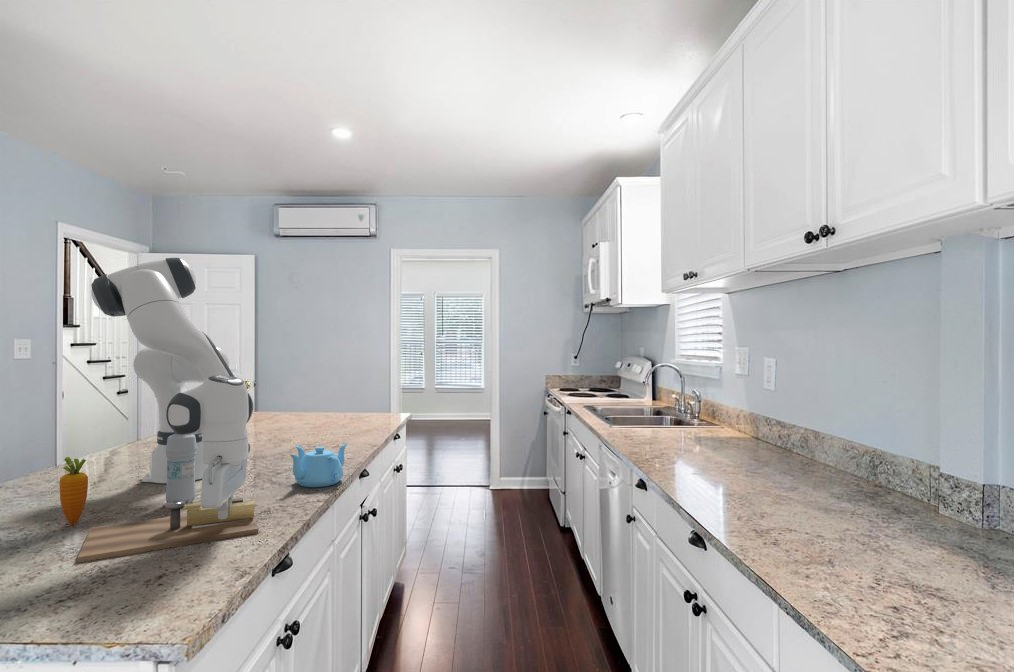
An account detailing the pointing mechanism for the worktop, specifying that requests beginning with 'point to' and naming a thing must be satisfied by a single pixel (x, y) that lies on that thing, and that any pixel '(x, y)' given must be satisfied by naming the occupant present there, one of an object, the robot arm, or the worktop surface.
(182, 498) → the bottle
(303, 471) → the teapot
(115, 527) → the latch board
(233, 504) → the swing bar
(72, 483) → the carrot
